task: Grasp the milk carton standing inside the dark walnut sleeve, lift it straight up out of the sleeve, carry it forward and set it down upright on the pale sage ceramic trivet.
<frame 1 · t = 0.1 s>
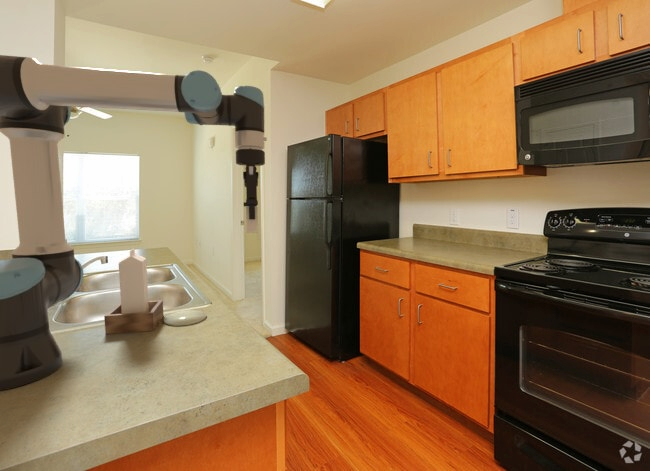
hand: (251, 230, 94), 28 cm above the counter, fingers open, 13 cm apart
trivet: (185, 318, 106), on the counter
sleeve: (136, 324, 101), on the counter
milk: (136, 325, 101), resting in sleeve
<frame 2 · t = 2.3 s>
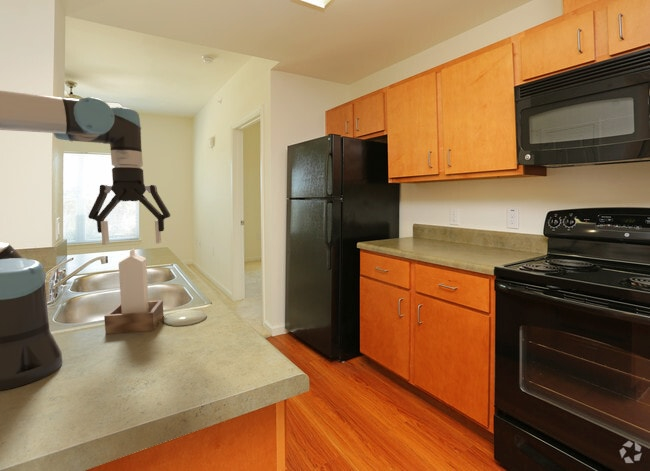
hand: (132, 243, 98), 24 cm above the counter, fingers open, 13 cm apart
nothing on the counter moved.
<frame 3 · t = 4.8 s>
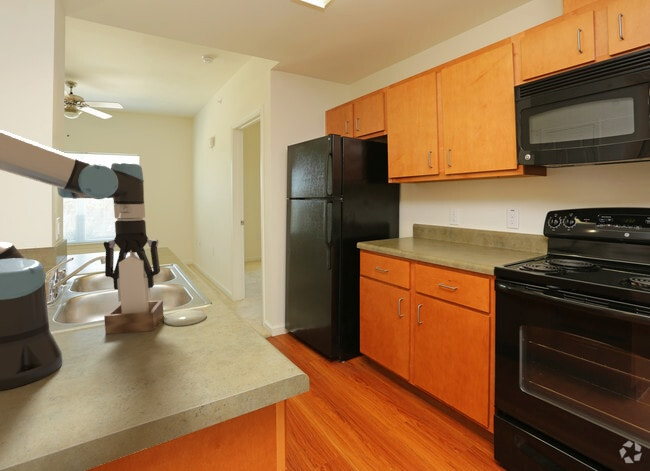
hand: (135, 299, 100), 7 cm above the counter, fingers closed on milk, 6 cm apart
milk: (136, 324, 101), resting in sleeve, touching gripper
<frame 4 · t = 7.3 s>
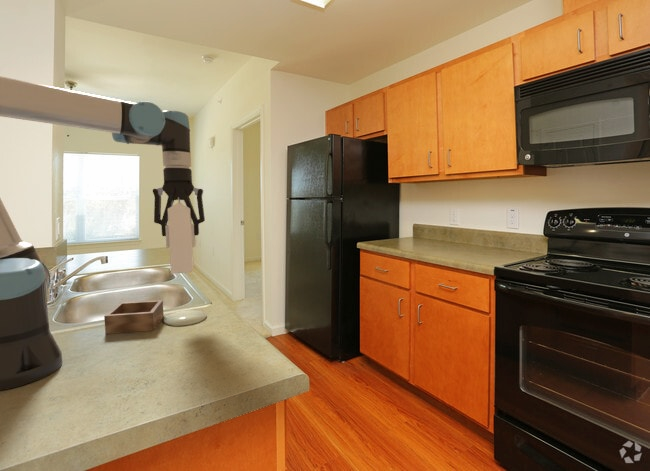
hand: (181, 246, 103), 22 cm above the counter, fingers closed on milk, 6 cm apart
milk: (182, 271, 104), point 14 cm above the counter, touching gripper
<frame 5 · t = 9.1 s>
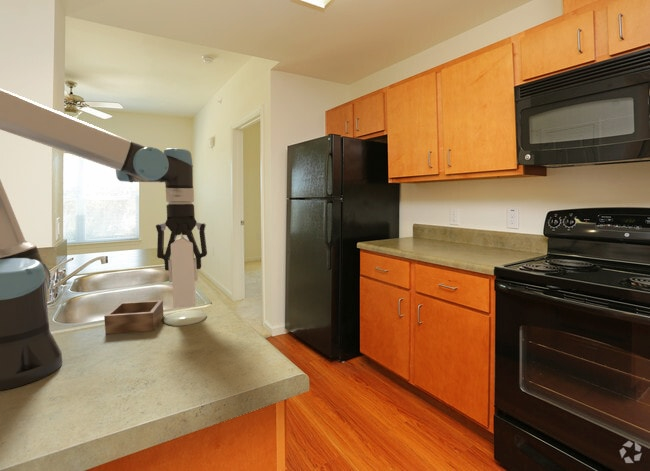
hand: (183, 280, 104), 12 cm above the counter, fingers closed on milk, 6 cm apart
milk: (185, 304, 105), point 4 cm above the counter, touching gripper
when the fingers open (10 cm above the counter, at t = 10.3 s): milk drops 2 cm, resting on trivet.
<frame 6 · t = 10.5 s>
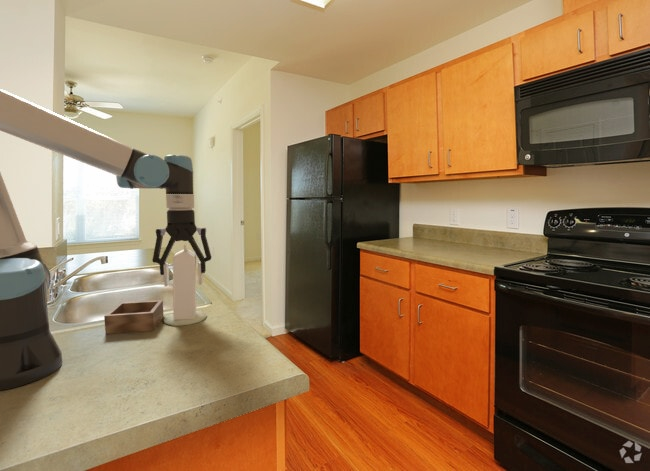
hand: (183, 284, 104), 11 cm above the counter, fingers open, 9 cm apart
milk: (185, 316, 106), point 1 cm above the counter, touching trivet
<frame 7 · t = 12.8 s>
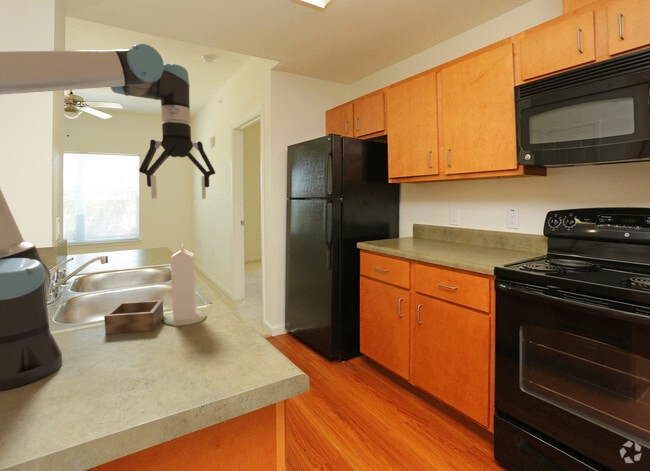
hand: (179, 198, 101), 36 cm above the counter, fingers open, 13 cm apart
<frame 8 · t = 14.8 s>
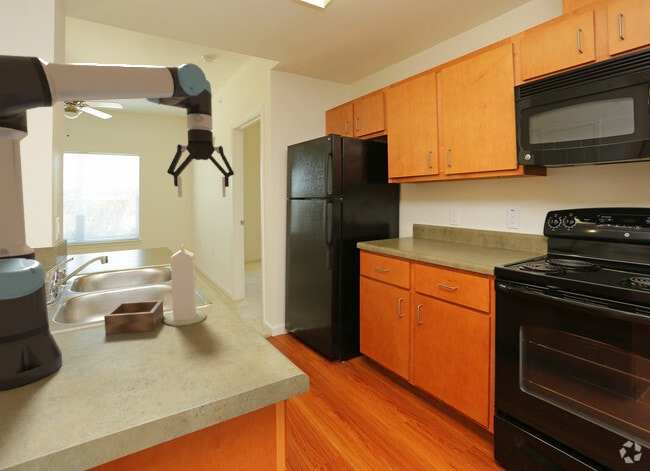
hand: (202, 197, 113), 37 cm above the counter, fingers open, 13 cm apart
nothing on the counter moved.
at the end: milk inside the target area on the trivet (0.0 cm from its centre), point 0.4 cm above the trivet's base; milk tilted 0°; the gripper is holding nothing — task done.
